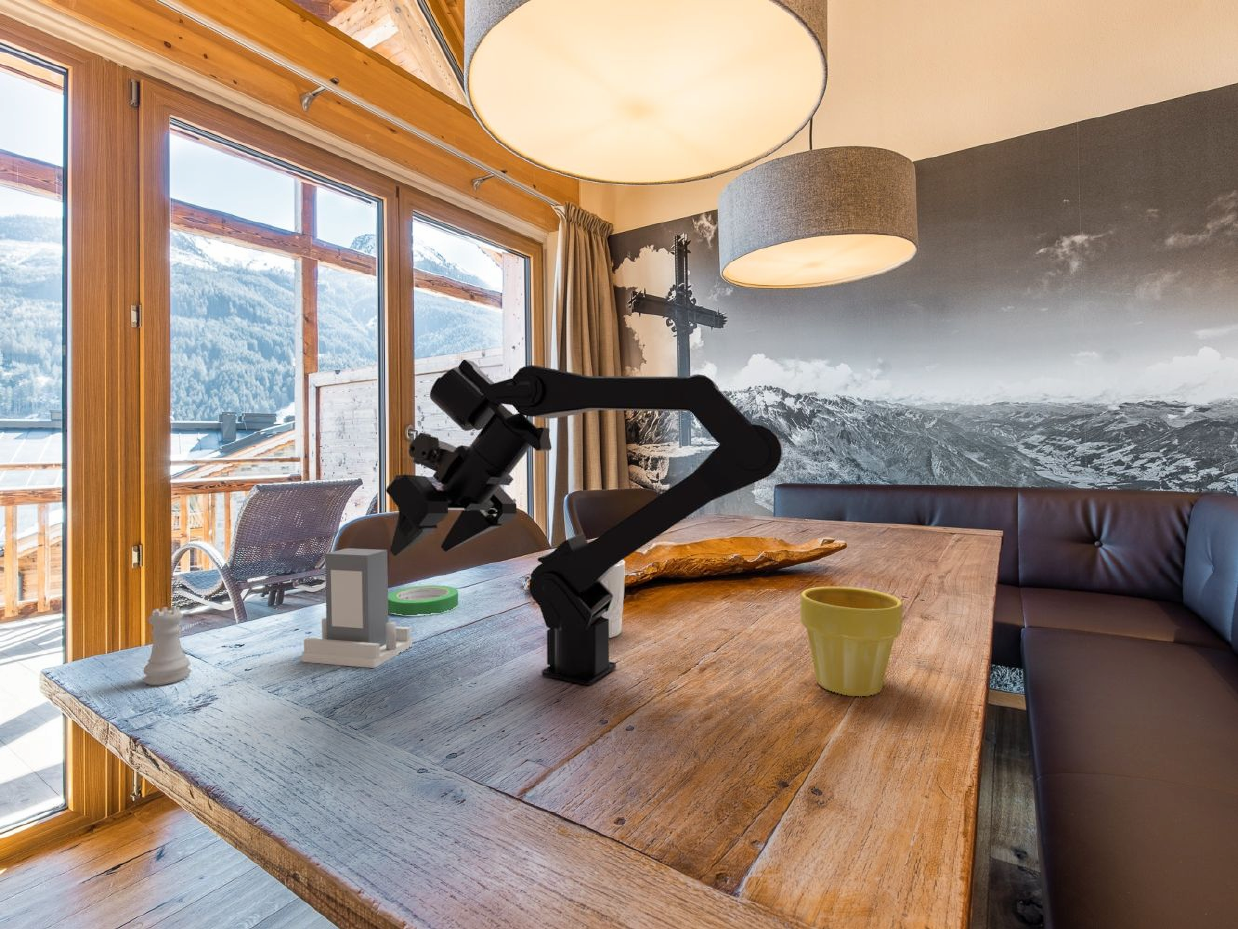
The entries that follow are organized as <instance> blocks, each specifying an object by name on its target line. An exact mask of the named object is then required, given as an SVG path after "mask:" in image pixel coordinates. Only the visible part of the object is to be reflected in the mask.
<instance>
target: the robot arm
mask: <svg viewBox="0 0 1238 929" xmlns="http://www.w3.org/2000/svg"><path fill="white" fill-rule="evenodd" d="M429 398H430V400H431V401H432V402H433V403H434V404H435V405H436V406H437V407H438V408H439V409H440V410H442V412H444V413H445V414H446V415H447V416H448V417H449V418H450V419H451V420H452V421H453V422H454V423H455V424H456V425H457V426H458V427H460V429H462V430H463V431H465V432H466V431H467V432H469V431H471V430H473V429H474V430H475V431H480V430H481V431H480V432H479V433H478V434H477V436H476V437H475V439H473V441H472V442H471V444H470V445H469V446H468V445H459V446H457V447H456V446H454V445H452V444H450V443H448V442H445V441H442V440H439V437H436V436H432V434H430V433H425V432H420V433H419V434H418V435H416V437H415V438H414V439H413V440H412V441H411V443H410V444H409V450H408V455H409V456H410V457H411V458H413V459H412V462H413V463H414V464H416V465H421V466H424V467H425V468H428V469H430V470H432V471H434V474H433V475H432V477H433V478H434V479H435V481H436V482H438V483H441V484H442V486H441V490H440V489H437V488H436V487H435V485H434V484H433V483H432V481H431V480H430V479H429V478H427V476H424V475H415V474H413V475H412V474H398V475H395V476H394V477H393V479H392V480H391V481H390V482H389V484H388V485H387V487H386V489H385V492H386V493H387V494H388V495H389V497H390V498H391V500H392V501H393V503H394V504H395V505H396V507H397V508H398V515H397V523H396V526H395V529H394V533H393V538H392V540H391V541H392V542H391V544H390V548H389V551H390V552H389V553H391V554H392V555H393V557H398V556H400V555H401V554H404V553H405V552H406V551H407V550H409V549H411V548H412V547H413V546H414V545H415V544H418V543H419V542H420V541H421V540H423V539H424V538H426V537H427V536H428V535H430V534H431V533H433V532H434V531H436V530H437V529H438V526H437V524H439V523H441V522H443V521H444V519H445V518H446V516H448V514H449V511H460V514H459V515H458V517H457V518H456V520H455V522H454V523H453V525H452V526H451V528H450V529H449V531H448V533H447V534H446V536H445V538H444V539H443V541H442V543H441V545H440V548H441V550H443V551H444V552H446V553H448V552H449V551H451V550H454V549H455V548H459V546H461V545H464V544H465V543H468V542H470V541H472V540H473V539H476V538H478V537H480V536H481V535H484V534H486V533H488V532H491V531H492V530H494V529H499V528H500V527H501V526H502V525H509V524H510V523H511V521H512V520H513V519H514V518H515V517H516V515H517V514H518V513H517V503H516V502H515V501H514V499H513V498H511V497H510V495H509V494H508V493H507V492H506V491H505V490H504V489H503V488H502V487H501V486H509V485H510V484H511V483H512V482H513V481H514V478H513V477H512V476H511V475H510V474H511V473H512V471H513V470H514V468H516V466H517V465H518V463H519V462H520V461H521V460H522V458H523V457H524V456H525V455H526V453H527V452H528V451H529V450H530V448H531V447H532V448H533V449H534V450H535V451H536V452H544V451H545V452H549V451H551V450H552V444H551V439H550V428H549V427H543V426H541V427H537V426H536V425H535V424H534V422H532V421H531V420H530V419H529V418H527V417H532V418H533V417H534V418H543V419H557V418H563V417H564V418H565V417H570V416H575V415H579V414H584V413H587V412H593V411H639V412H640V411H641V412H642V411H644V412H648V411H649V412H651V411H653V412H690V413H692V415H693V416H695V419H697V420H698V421H699V422H700V424H701V425H702V426H703V427H704V429H705V430H706V431H707V432H708V433H709V434H710V435H711V437H712V438H713V439H714V440H715V442H717V443H718V446H717V447H716V448H715V449H713V450H712V452H711V453H710V454H709V455H707V457H706V458H705V459H704V460H703V461H702V463H700V465H699V466H698V467H697V468H696V469H695V470H694V471H693V472H692V473H691V474H689V475H687V477H685V478H683V479H682V480H680V481H679V482H678V483H676V484H674V485H673V486H672V487H670V488H669V489H667V490H665V491H664V492H662V493H661V494H659V495H658V496H657V497H656V498H654V499H652V500H651V501H649V502H648V503H647V504H645V505H644V506H642V507H640V508H639V509H638V510H636V511H635V512H633V513H632V514H630V515H629V516H628V517H626V518H624V519H623V520H622V521H620V522H619V523H617V524H616V525H614V526H613V527H611V528H610V529H608V530H607V531H606V532H604V533H603V534H601V535H599V536H598V537H597V538H595V539H593V540H591V541H587V538H586V535H585V534H584V532H582V533H579V534H577V535H574V536H572V537H570V538H568V539H565V540H564V541H563V542H561V543H560V544H559V545H558V546H557V547H556V548H555V549H554V550H553V551H551V552H548V553H547V554H544V555H542V556H540V557H538V558H537V562H538V563H540V564H539V565H537V566H536V567H535V568H534V569H532V571H531V574H530V578H529V580H530V581H529V591H530V594H531V596H532V599H533V601H534V602H535V603H536V604H537V605H538V606H539V609H540V611H541V614H542V617H543V620H544V623H545V626H546V627H547V630H546V664H547V665H548V666H547V667H545V668H543V669H542V670H541V676H543V677H548V678H549V677H550V678H553V679H558V680H561V681H567V682H572V683H575V684H581V685H584V686H588V685H592V684H593V683H595V682H596V681H598V680H599V679H601V678H602V677H604V676H605V675H607V674H608V673H609V672H612V671H613V670H614V669H616V667H617V663H616V662H614V661H610V638H609V619H607V618H603V617H602V616H601V615H602V614H603V613H605V612H607V611H608V610H609V607H610V604H611V602H612V599H613V595H612V593H611V592H610V591H609V590H608V589H607V588H606V587H605V586H604V585H603V584H602V583H601V582H600V581H601V580H602V579H603V578H604V577H605V576H606V575H607V573H608V572H609V571H610V570H611V569H612V568H613V567H614V566H615V565H616V564H617V563H618V562H619V561H621V560H625V559H626V558H627V557H629V556H630V555H632V554H633V553H635V552H636V551H637V550H639V549H640V548H643V547H645V545H647V544H649V542H651V541H653V540H654V539H656V538H657V537H659V536H660V535H661V534H663V533H665V532H667V531H668V530H669V529H670V528H673V527H674V526H675V525H677V524H679V523H680V522H682V521H683V520H684V519H686V518H687V517H689V516H690V515H691V514H693V513H695V512H697V511H698V510H699V509H701V508H703V507H704V506H706V505H707V504H708V503H710V502H712V501H715V500H716V499H719V498H722V497H724V496H727V495H728V494H732V493H734V492H735V491H739V490H741V489H743V488H745V487H748V486H750V485H753V484H755V483H757V482H759V481H762V480H765V479H767V477H769V476H770V475H771V474H773V473H774V472H775V471H776V470H777V468H778V467H779V466H780V464H781V463H782V462H781V461H782V457H783V445H782V443H781V441H780V439H779V437H778V436H777V434H776V433H775V432H773V430H771V429H769V428H768V427H765V426H764V425H760V424H753V423H752V422H751V421H750V420H749V418H747V417H746V416H745V415H744V414H743V413H742V412H741V411H740V410H739V409H738V408H737V407H736V406H735V405H734V404H733V403H732V402H731V401H730V399H728V398H727V397H726V396H725V395H724V394H723V393H722V392H721V390H720V389H719V385H717V383H716V382H715V381H713V379H711V378H710V377H708V376H706V375H705V374H704V375H703V374H699V373H697V374H692V375H687V376H617V375H616V376H613V375H612V376H607V375H606V376H602V375H601V376H598V375H597V376H596V375H595V376H591V375H590V376H589V375H584V374H579V373H574V372H569V371H564V370H560V369H555V368H550V367H545V366H539V365H532V364H531V365H525V366H523V367H520V368H518V371H517V372H516V373H515V374H514V375H513V376H512V377H511V378H508V379H504V380H501V381H496V382H494V381H493V380H492V379H490V378H489V377H488V376H487V375H486V374H485V373H484V372H483V370H482V369H481V367H480V366H478V365H477V364H476V363H475V362H474V361H472V360H467V359H462V361H461V362H460V364H459V365H457V366H456V367H453V368H451V369H450V370H448V371H447V372H445V373H443V375H442V376H439V377H437V379H436V380H435V381H434V383H433V385H432V387H431V388H430V392H429ZM505 405H508V406H513V408H514V409H515V410H516V411H517V413H513V412H511V410H509V409H508V408H507V407H505ZM526 416H527V417H526Z"/></svg>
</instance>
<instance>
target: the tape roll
mask: <svg viewBox="0 0 1238 929" xmlns="http://www.w3.org/2000/svg"><path fill="white" fill-rule="evenodd" d="M457 605H458V606H459V590H458V589H457V588H456V587H453V586H449V585H448V586H446V585H440V584H439V585H433V584H431V585H429V584H428V585H420V586H419V585H418V586H410V587H405V588H402V589H396V590H395V591H392V592H390V593H388V612H390V613H396V614H402V615H417V614H431V613H441V612H444V611H447V610H451V609H453V608H454V607H456V606H457ZM453 610H454V609H453ZM451 611H452V610H451ZM441 614H442V613H441Z"/></svg>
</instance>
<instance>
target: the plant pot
mask: <svg viewBox="0 0 1238 929" xmlns="http://www.w3.org/2000/svg"><path fill="white" fill-rule="evenodd" d="M903 607H904V606H903V602H902V601H901V600H900V599H899V598H898V597H896V596H894V595H892V594H889V593H885V592H881V591H876V590H873V589H867V588H861V587H860V588H859V587H849V586H817V587H812V588H807V589H805V590H803V591H802V592H801V594H800V622H801V624H802V625H803V627H805V628H806V630H807V631H806V632H807V635H808V636H807V637H808V641H809V646H810V652H811V656H812V664H813V668H814V673H815V679H816V682H817V683H818V685H820V687H821V688H823V689H825V690H827V691H829V692H831V691H832V692H831V693H834V692H835V693H834V694H837V693H838V694H837V695H841V694H842V696H846V695H847V696H848V697H855V696H859V698H861V697H862V696H866V697H871V696H870V695H872V696H875V695H877V693H878V692H879V693H881V691H882V687H883V683H884V680H885V676H886V672H887V669H888V664H889V660H890V656H891V651H892V649H893V646H894V645H893V644H894V642H895V639H896V638H897V637H898V638H899V636H900V635H901V633H902V628H903V610H904V608H903ZM879 693H878V694H879ZM874 694H875V695H874ZM860 696H861V697H860ZM862 698H863V697H862Z"/></svg>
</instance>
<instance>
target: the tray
mask: <svg viewBox="0 0 1238 929" xmlns="http://www.w3.org/2000/svg"><path fill="white" fill-rule="evenodd" d="M411 646H413V638H411V627H408V626H405V627H404V626H397V622H395V621H388V623H386V644H385V645H383V646H382V647H380V644H379V643H366V642H353V641H340V640H328V639H327V628H326V617H323V618H321V638H313V637H311V638H310V637H307V638H304V639H303V652H302V654H301V660H302V661H301V662H303V663H313V664H324V665H325V664H327V665H335V666H348V667H356V668H357V667H358V668H368V669H369V668H371V669H376V668H377V667H379V666H381V665H383V664H384V663H387V662H388V661H389V660H391V659H393V658H394V657H396V656H398V655H400V654H401V653H403V652H405V651H407V650H408V649H410V648H412V647H411ZM409 647H410V648H409ZM406 649H407V650H406ZM400 652H401V653H400ZM399 653H400V654H399Z"/></svg>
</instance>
